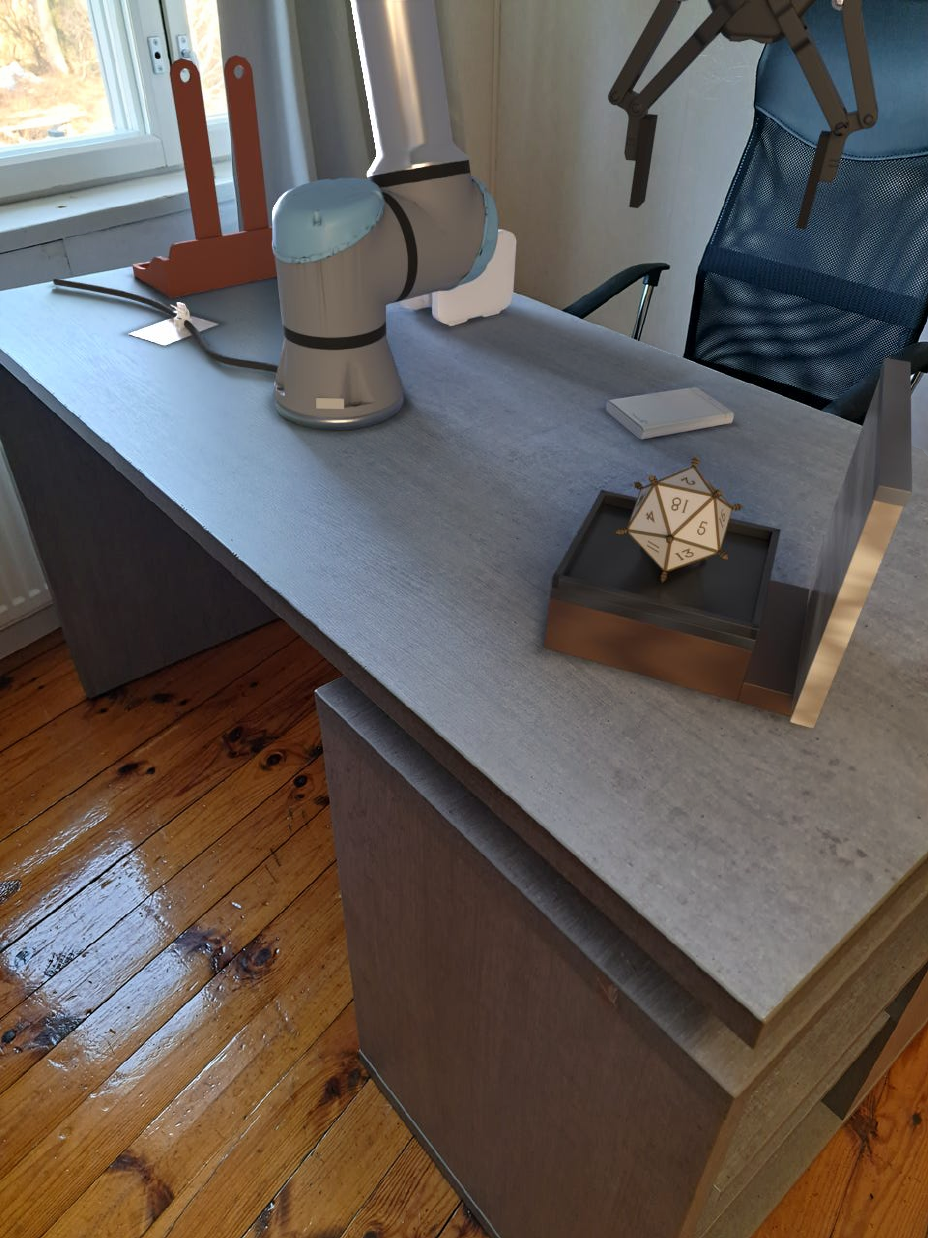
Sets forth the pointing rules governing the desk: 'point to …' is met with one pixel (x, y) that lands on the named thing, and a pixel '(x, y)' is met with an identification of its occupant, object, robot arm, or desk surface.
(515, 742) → the desk surface
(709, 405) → the hard drive
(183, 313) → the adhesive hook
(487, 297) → the cable organizer
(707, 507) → the game die
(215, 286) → the hanging shelf
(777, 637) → the holder
